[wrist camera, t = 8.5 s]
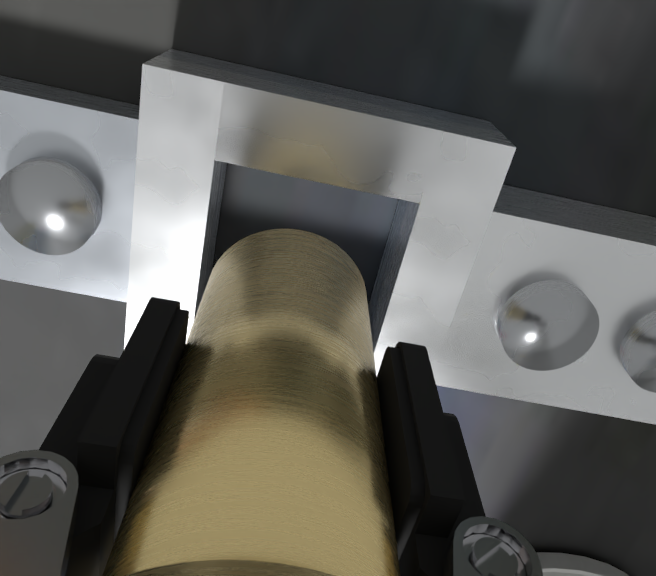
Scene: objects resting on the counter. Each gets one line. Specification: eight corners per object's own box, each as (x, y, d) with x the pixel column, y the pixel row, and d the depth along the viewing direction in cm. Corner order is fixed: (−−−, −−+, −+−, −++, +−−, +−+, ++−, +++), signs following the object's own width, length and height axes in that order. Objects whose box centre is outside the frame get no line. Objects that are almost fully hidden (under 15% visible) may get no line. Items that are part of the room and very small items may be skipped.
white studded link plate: (735, 176, 19) (817, 220, 16) (604, 408, 23) (648, 478, 20) (-130, -20, 16) (-241, -17, 13) (-89, 283, 21) (-165, 340, 18)
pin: (405, 234, 14) (539, 700, 5) (357, 391, 16) (394, 896, 8) (201, 193, 13) (-28, 635, 5) (181, 361, 16) (3, 866, 7)
